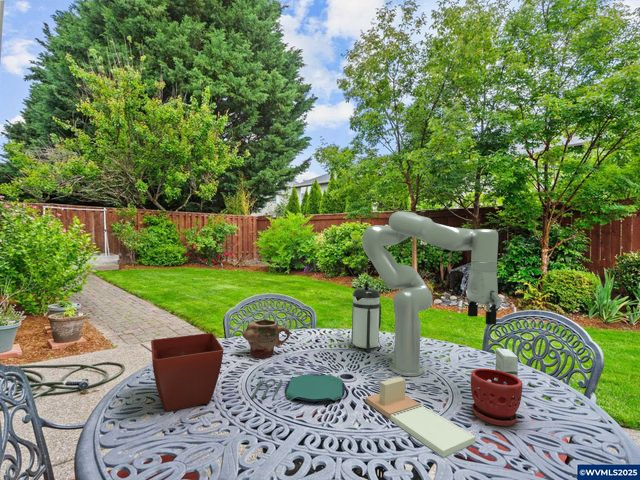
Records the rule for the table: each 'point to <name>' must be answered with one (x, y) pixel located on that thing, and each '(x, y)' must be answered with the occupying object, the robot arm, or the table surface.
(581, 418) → the table surface
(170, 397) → the plant pot
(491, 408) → the plant pot
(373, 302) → the coffee press
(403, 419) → the pale green notepad
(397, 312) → the robot arm
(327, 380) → the cutlery set
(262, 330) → the brown sculpted mug
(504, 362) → the ink box
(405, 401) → the light switch
